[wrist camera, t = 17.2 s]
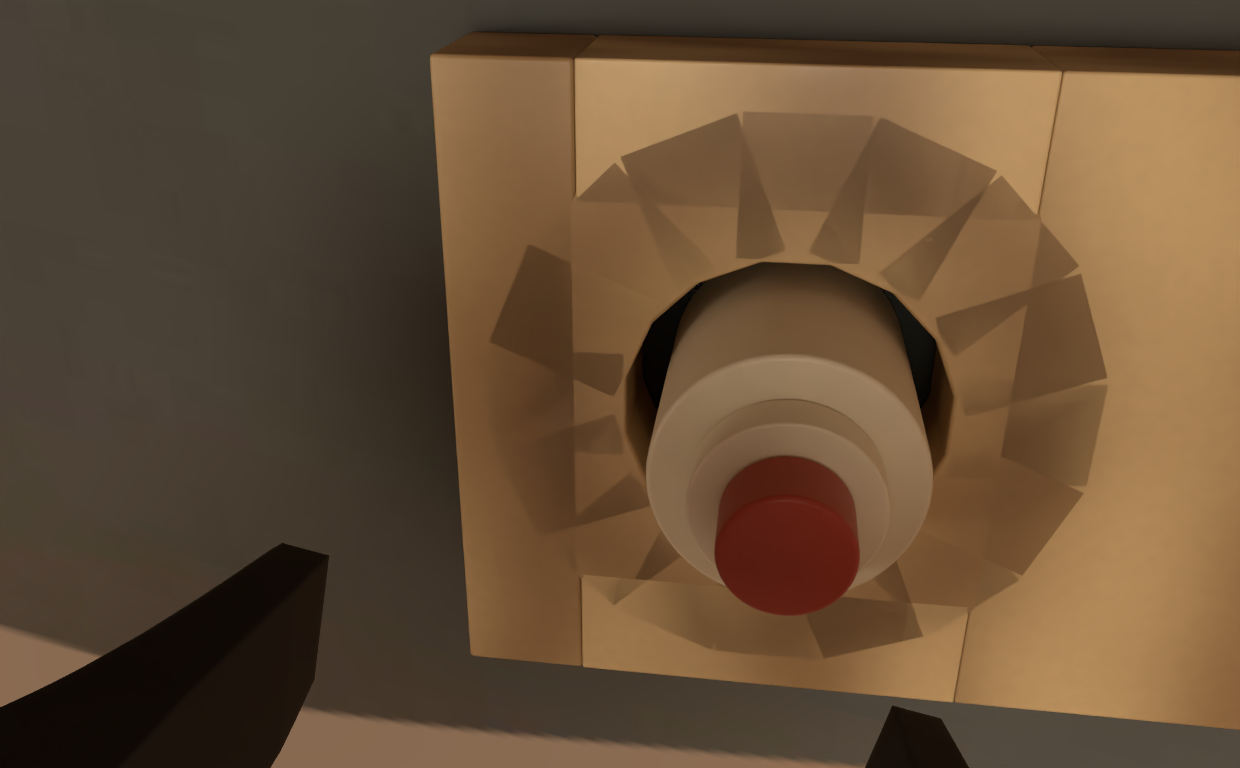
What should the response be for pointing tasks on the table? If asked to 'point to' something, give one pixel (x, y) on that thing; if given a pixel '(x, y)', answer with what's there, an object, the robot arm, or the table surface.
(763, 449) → the bottle
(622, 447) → the board
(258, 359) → the table surface
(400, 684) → the table surface
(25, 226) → the table surface
